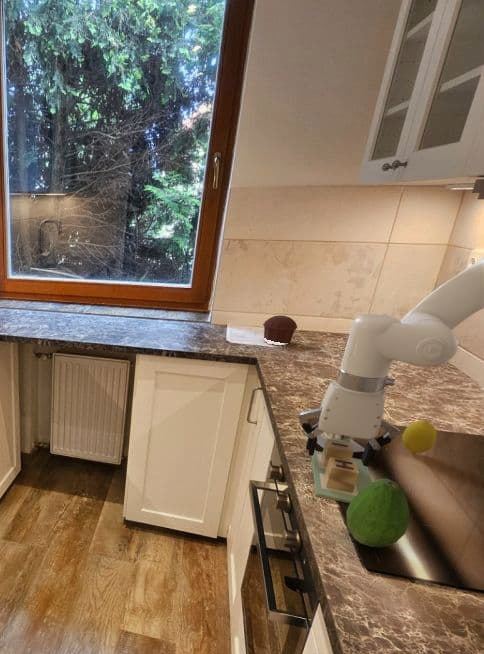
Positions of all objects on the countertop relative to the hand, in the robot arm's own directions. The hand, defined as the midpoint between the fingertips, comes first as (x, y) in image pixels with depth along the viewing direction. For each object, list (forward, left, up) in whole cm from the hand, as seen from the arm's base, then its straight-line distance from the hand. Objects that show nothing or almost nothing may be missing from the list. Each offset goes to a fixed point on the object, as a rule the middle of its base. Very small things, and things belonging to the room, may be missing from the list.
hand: (336, 458), depth 97 cm
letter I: (0, 0, -1) cm, 1 cm away
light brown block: (0, +8, -1) cm, 9 cm away
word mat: (-1, +4, -2) cm, 5 cm away
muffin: (+12, -93, -2) cm, 93 cm away
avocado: (-3, +24, -2) cm, 25 cm away
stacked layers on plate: (-1, -13, -2) cm, 13 cm away
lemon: (-16, -14, -2) cm, 21 cm away
